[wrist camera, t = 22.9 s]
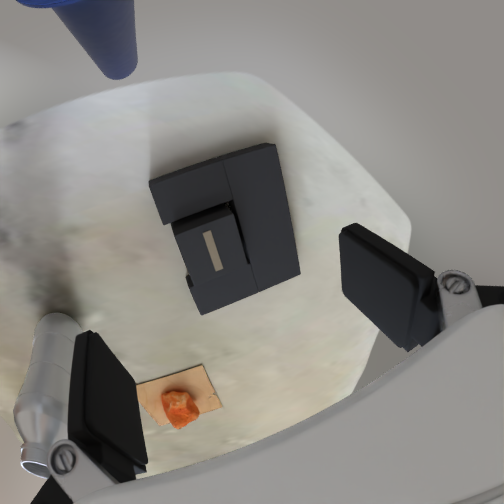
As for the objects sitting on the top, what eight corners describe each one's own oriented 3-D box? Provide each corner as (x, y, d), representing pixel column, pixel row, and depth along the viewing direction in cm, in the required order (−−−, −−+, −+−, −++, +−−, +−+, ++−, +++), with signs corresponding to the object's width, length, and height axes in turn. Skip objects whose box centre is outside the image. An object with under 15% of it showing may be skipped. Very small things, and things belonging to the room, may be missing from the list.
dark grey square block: (170, 222, 30) (174, 235, 27) (222, 202, 31) (233, 213, 28) (188, 268, 33) (194, 287, 30) (236, 250, 34) (248, 265, 31)
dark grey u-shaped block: (148, 180, 28) (148, 185, 26) (266, 142, 30) (275, 144, 28) (197, 304, 35) (201, 316, 33) (291, 265, 38) (301, 274, 36)
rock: (201, 364, 40) (209, 385, 36) (222, 406, 46) (229, 425, 42) (127, 387, 37) (129, 409, 34) (159, 425, 43) (163, 445, 39)
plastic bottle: (32, 307, 28) (-11, 447, 11) (79, 303, 30) (57, 455, 13) (48, 347, 30) (28, 481, 13) (92, 344, 32) (90, 486, 15)
